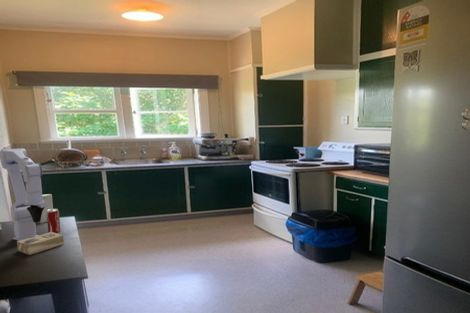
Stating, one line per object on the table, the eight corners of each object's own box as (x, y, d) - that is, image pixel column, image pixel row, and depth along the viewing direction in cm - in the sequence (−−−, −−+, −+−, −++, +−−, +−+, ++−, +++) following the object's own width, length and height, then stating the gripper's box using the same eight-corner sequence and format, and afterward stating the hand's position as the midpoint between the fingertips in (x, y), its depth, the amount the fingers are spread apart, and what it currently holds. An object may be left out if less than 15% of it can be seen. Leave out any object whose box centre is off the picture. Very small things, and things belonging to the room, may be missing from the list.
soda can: (55, 235, 150) (53, 211, 149) (45, 235, 151) (43, 211, 150) (63, 232, 155) (61, 208, 154) (54, 231, 156) (52, 208, 155)
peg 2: (43, 244, 137) (42, 235, 137) (51, 242, 140) (50, 233, 140) (47, 246, 135) (46, 237, 135) (55, 243, 138) (55, 234, 138)
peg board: (17, 250, 132) (16, 241, 131) (51, 240, 143) (51, 231, 143) (29, 255, 126) (28, 245, 126) (63, 243, 138) (63, 235, 138)
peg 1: (25, 250, 131) (24, 240, 131) (35, 247, 134) (34, 238, 134) (30, 251, 129) (29, 242, 129) (39, 248, 132) (38, 239, 132)
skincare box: (41, 223, 173) (38, 197, 171) (33, 222, 175) (31, 196, 174) (54, 219, 180) (52, 193, 179) (47, 218, 183) (45, 193, 181)
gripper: (16, 192, 136) (19, 222, 137) (32, 194, 128) (35, 226, 130) (33, 189, 142) (36, 218, 143) (50, 191, 134) (53, 222, 136)
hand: (37, 222), depth 137 cm, fingers closed
